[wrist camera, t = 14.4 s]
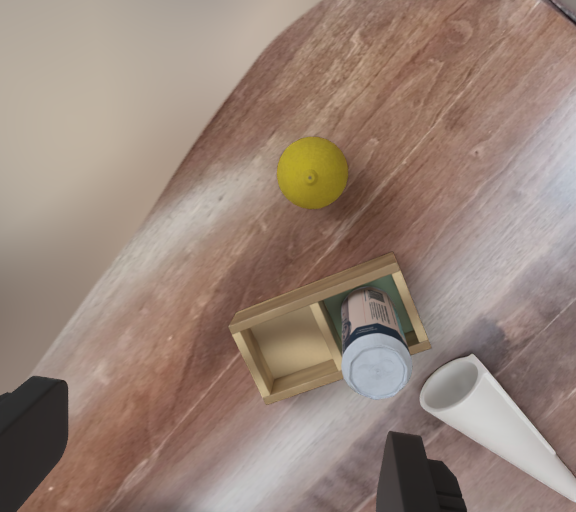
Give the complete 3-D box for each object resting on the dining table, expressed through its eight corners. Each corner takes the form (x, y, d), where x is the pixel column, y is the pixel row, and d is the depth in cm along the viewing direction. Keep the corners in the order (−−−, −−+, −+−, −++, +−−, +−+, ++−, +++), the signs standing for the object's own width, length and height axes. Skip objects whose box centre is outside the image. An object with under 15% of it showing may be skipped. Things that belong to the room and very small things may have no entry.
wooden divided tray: (236, 312, 47) (227, 326, 44) (392, 251, 44) (397, 261, 41) (271, 385, 49) (265, 405, 45) (425, 331, 46) (432, 348, 42)
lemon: (349, 198, 44) (352, 213, 36) (286, 203, 44) (274, 219, 37) (344, 132, 42) (346, 133, 35) (279, 139, 43) (266, 142, 35)
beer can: (330, 301, 45) (327, 362, 34) (376, 274, 44) (389, 326, 33) (359, 344, 46) (366, 417, 34) (405, 318, 45) (428, 384, 33)
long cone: (524, 515, 51) (411, 388, 47) (577, 479, 51) (467, 346, 46) (556, 563, 46) (431, 424, 41) (615, 523, 45) (495, 377, 41)
